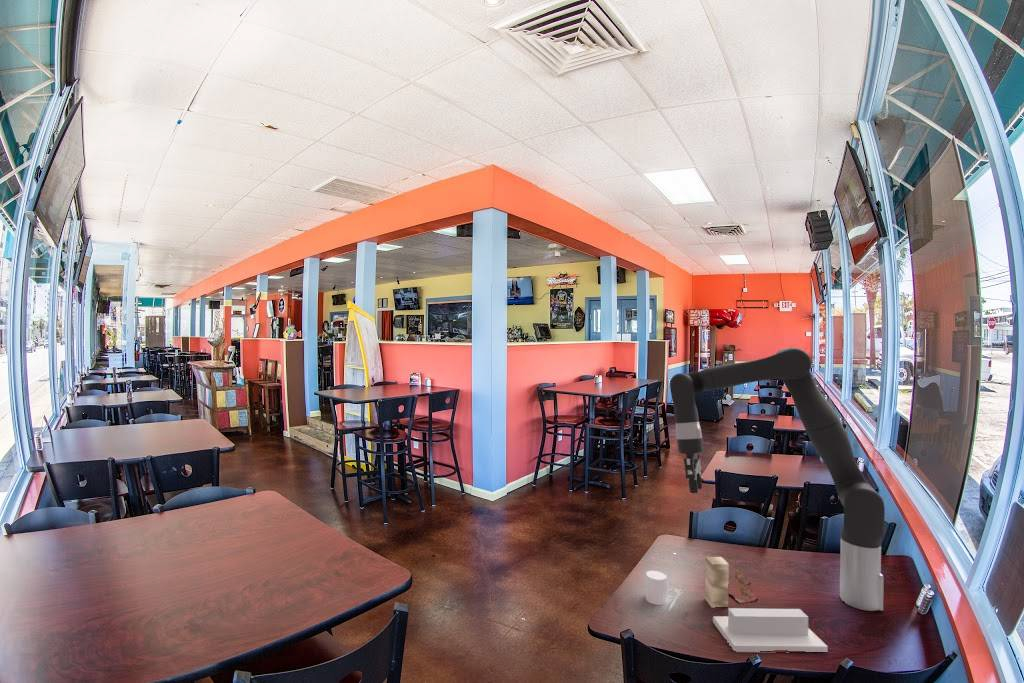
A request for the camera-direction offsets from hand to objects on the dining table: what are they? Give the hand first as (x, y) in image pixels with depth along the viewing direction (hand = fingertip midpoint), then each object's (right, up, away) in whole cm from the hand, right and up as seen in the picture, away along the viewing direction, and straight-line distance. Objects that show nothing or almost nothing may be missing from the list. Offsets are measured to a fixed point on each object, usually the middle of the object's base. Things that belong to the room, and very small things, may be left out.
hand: (696, 490), depth 148 cm
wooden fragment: (+10, -28, -1) cm, 30 cm away
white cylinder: (-16, -27, -12) cm, 34 cm away
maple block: (0, -27, -14) cm, 30 cm away
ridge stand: (+7, -27, -29) cm, 40 cm away
